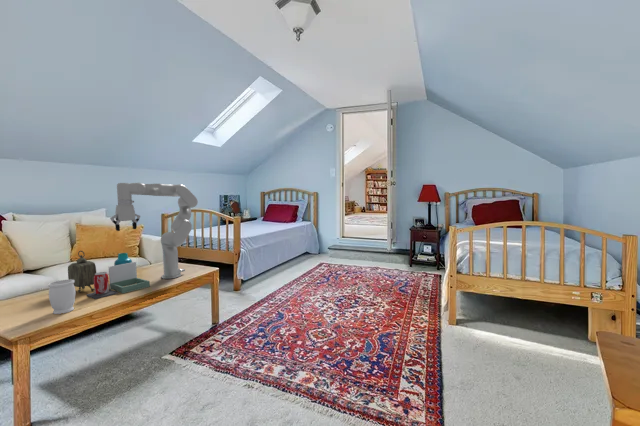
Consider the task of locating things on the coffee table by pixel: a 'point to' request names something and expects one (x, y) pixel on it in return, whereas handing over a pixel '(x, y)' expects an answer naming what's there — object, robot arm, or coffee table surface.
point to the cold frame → (125, 278)
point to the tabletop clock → (82, 273)
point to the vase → (122, 259)
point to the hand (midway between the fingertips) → (126, 229)
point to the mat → (102, 294)
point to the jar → (62, 296)
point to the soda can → (101, 283)
